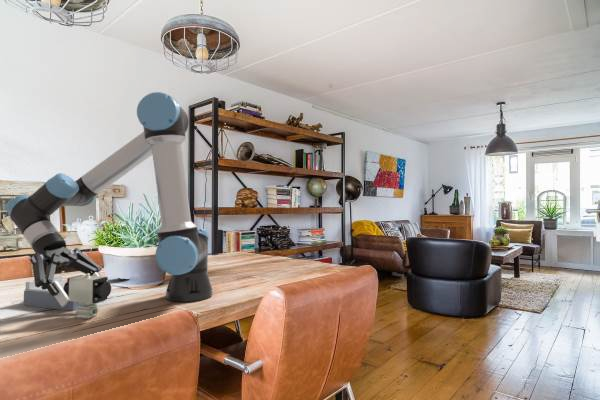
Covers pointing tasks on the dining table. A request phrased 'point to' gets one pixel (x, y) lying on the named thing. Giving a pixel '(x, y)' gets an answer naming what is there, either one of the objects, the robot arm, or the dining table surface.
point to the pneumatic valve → (87, 293)
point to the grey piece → (46, 297)
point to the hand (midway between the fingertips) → (87, 297)
